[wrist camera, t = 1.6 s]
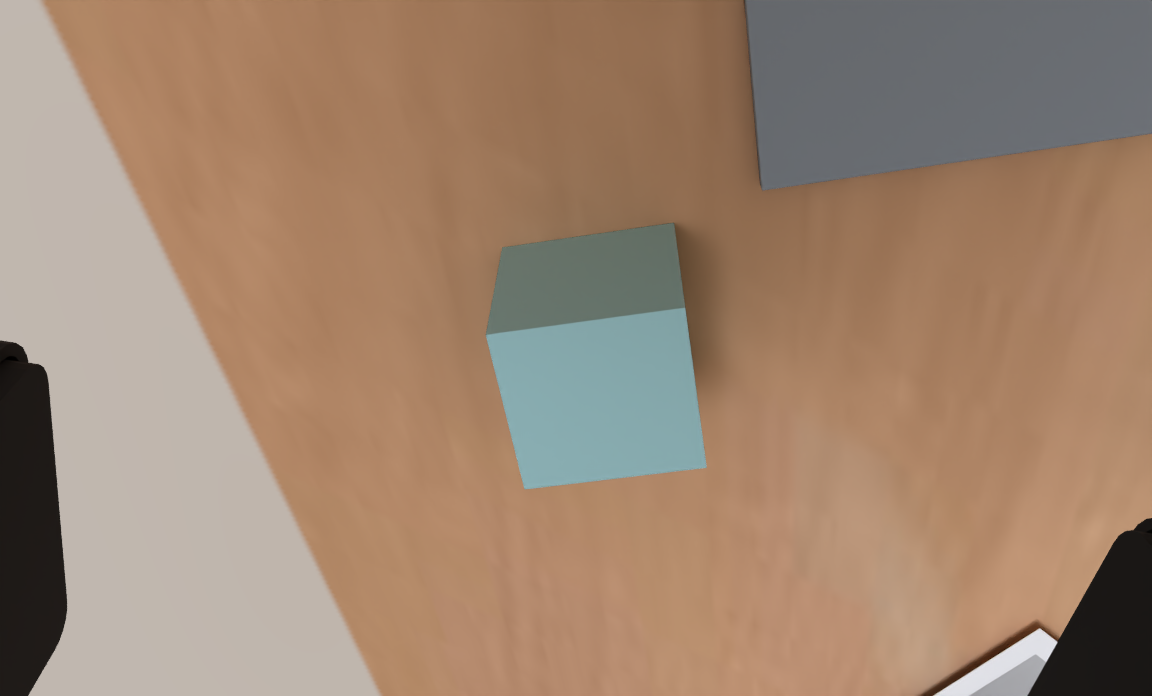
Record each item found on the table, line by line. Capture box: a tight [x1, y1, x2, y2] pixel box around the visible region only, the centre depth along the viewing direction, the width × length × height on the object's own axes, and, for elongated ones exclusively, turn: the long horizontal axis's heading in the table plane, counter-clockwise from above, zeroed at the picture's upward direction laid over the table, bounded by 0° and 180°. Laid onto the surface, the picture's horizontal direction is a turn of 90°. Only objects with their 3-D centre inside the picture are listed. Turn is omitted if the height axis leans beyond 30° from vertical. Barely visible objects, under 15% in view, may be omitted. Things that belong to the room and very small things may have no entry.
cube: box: [486, 223, 707, 489], centre depth 35 cm, size 6×6×6 cm
